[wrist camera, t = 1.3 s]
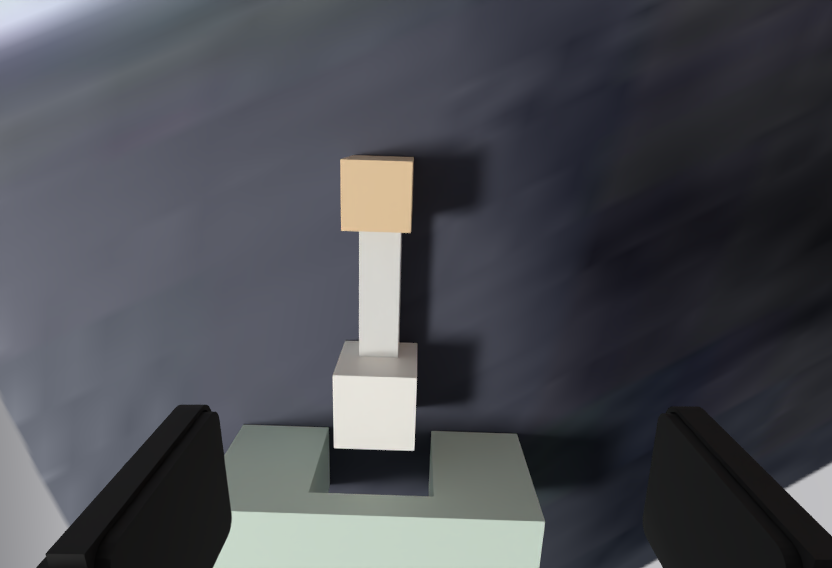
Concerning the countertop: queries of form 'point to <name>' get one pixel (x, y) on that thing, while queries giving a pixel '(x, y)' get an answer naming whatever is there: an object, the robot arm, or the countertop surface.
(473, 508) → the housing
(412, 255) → the countertop surface
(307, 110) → the countertop surface
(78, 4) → the countertop surface
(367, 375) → the plug
